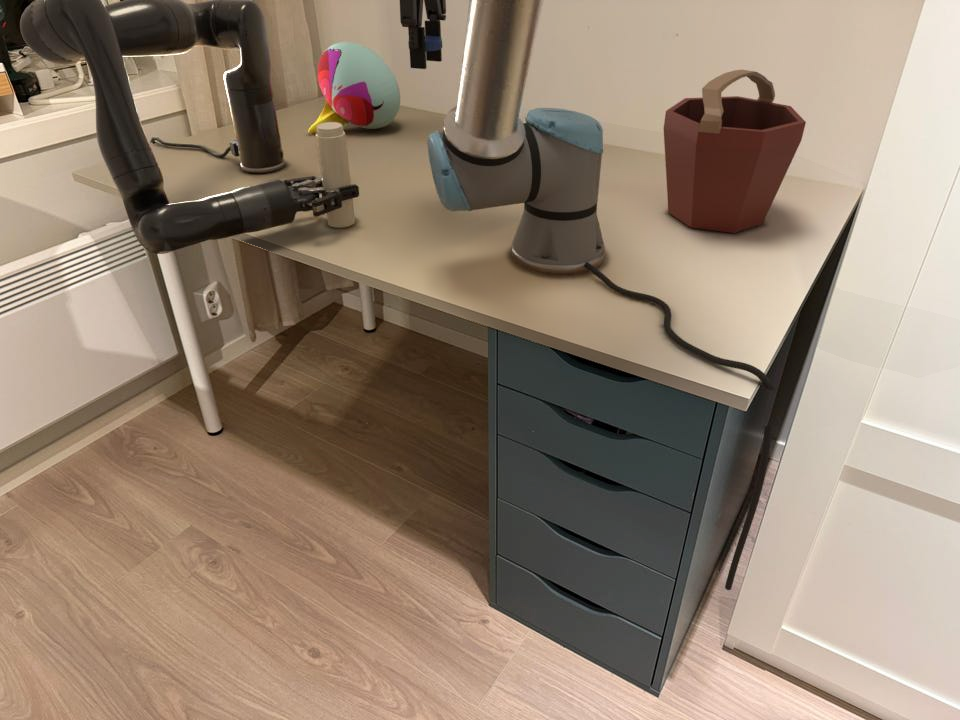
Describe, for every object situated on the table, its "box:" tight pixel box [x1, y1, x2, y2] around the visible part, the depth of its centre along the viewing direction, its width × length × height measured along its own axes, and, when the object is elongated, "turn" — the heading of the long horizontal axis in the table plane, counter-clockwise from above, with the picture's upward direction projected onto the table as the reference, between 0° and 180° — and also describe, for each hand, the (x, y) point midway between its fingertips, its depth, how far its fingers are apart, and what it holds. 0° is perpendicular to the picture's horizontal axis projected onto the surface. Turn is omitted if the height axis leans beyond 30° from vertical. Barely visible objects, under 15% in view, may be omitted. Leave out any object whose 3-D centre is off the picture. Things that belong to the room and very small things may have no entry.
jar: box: [315, 122, 356, 229], centre depth 125 cm, size 5×5×18 cm
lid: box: [407, 36, 443, 51], centre depth 123 cm, size 6×6×2 cm
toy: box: [307, 41, 401, 134], centre depth 176 cm, size 24×24×20 cm
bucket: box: [663, 69, 807, 234], centre depth 125 cm, size 24×22×25 cm
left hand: (350, 185), depth 128 cm, fingers closed on jar, 5 cm apart
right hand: (426, 64), depth 124 cm, fingers closed on lid, 6 cm apart
